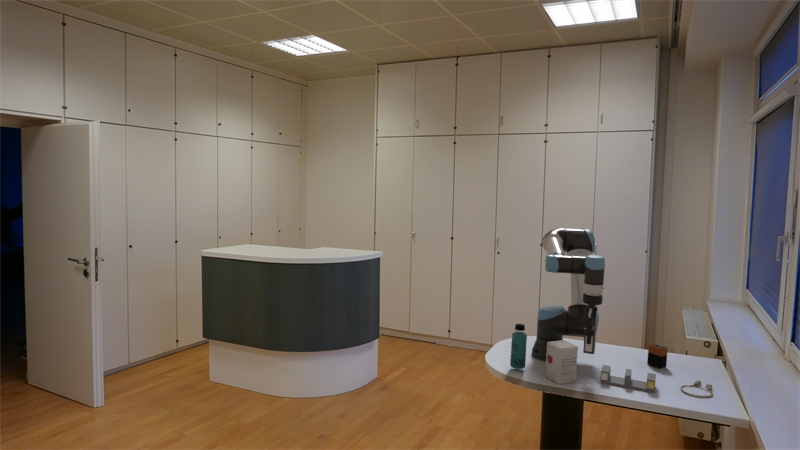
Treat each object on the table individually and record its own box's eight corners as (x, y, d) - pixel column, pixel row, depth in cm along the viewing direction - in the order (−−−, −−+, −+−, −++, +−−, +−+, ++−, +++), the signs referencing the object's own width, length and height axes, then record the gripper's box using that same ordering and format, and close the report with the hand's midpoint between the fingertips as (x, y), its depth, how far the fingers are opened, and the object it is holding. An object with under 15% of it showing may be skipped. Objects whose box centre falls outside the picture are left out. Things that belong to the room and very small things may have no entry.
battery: (660, 369, 232) (661, 346, 231) (646, 364, 238) (648, 342, 237) (666, 367, 234) (668, 345, 233) (653, 362, 240) (654, 341, 239)
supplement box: (544, 376, 220) (546, 341, 218) (561, 373, 224) (563, 339, 222) (559, 384, 212) (561, 348, 210) (576, 381, 215) (578, 346, 214)
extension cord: (727, 395, 206) (727, 390, 206) (697, 400, 201) (698, 395, 201) (699, 383, 218) (700, 379, 218) (671, 388, 212) (671, 383, 212)
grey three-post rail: (600, 382, 215) (600, 371, 214) (602, 376, 222) (603, 364, 221) (654, 393, 205) (655, 380, 205) (655, 386, 213) (655, 374, 212)
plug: (583, 352, 216) (584, 327, 215) (584, 349, 220) (586, 325, 219) (593, 354, 215) (595, 329, 213) (594, 351, 218) (596, 326, 217)
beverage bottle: (513, 366, 231) (515, 321, 229) (527, 369, 227) (530, 324, 225) (507, 370, 226) (509, 324, 224) (521, 374, 222) (524, 327, 220)
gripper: (600, 299, 205) (596, 357, 208) (605, 290, 220) (601, 344, 223) (580, 296, 209) (576, 354, 211) (586, 288, 224) (582, 341, 226)
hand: (589, 349), depth 217 cm, fingers closed on plug, 4 cm apart
